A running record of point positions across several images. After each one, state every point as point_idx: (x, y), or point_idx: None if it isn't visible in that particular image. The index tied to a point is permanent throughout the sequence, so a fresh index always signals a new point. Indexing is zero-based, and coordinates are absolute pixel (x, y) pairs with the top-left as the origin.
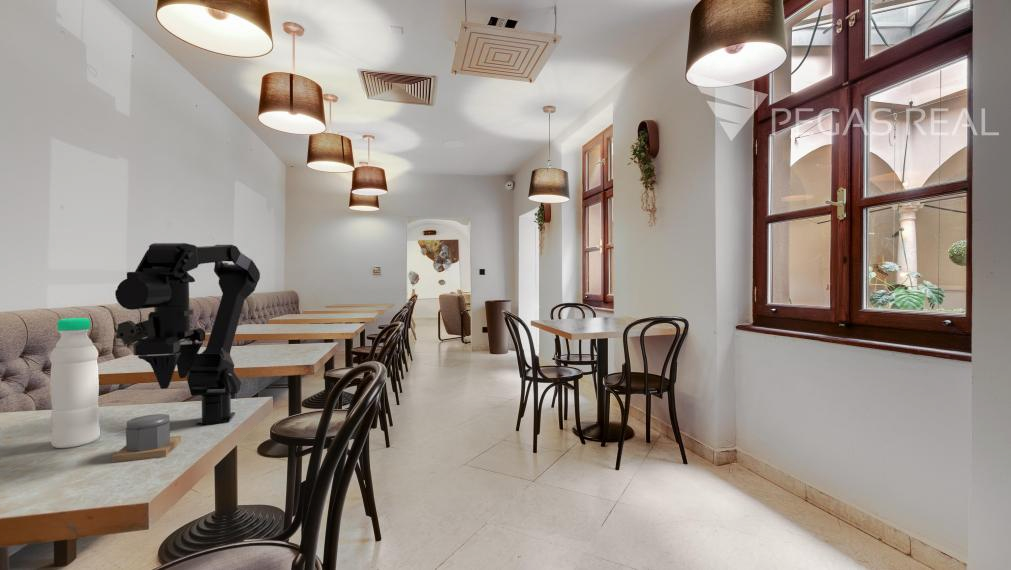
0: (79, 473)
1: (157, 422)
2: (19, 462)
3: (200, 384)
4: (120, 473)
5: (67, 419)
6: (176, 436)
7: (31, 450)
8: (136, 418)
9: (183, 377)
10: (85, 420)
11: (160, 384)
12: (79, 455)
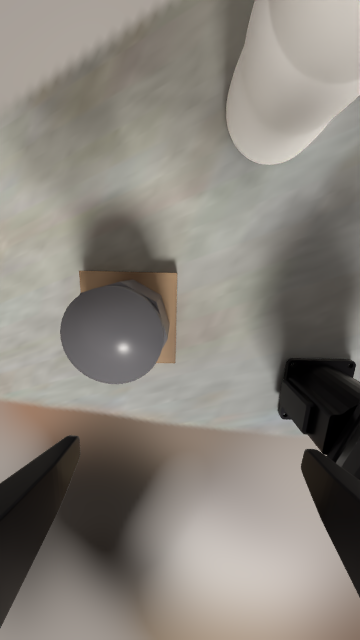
0: (39, 231)
1: (79, 367)
2: (153, 39)
3: (353, 447)
4: (21, 307)
5: (250, 33)
6: (174, 356)
7: (250, 12)
8: (129, 302)
9: (301, 464)
10: (261, 104)
11: (48, 454)
12: (158, 175)
